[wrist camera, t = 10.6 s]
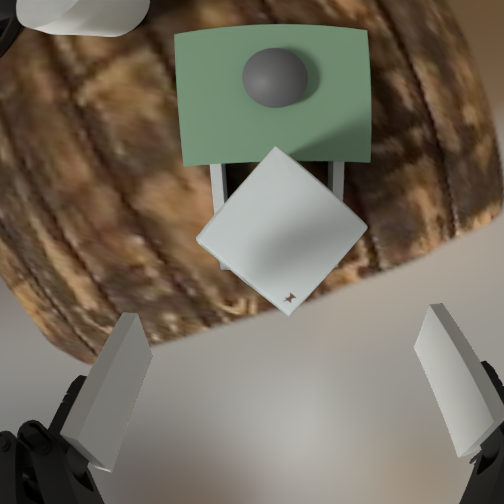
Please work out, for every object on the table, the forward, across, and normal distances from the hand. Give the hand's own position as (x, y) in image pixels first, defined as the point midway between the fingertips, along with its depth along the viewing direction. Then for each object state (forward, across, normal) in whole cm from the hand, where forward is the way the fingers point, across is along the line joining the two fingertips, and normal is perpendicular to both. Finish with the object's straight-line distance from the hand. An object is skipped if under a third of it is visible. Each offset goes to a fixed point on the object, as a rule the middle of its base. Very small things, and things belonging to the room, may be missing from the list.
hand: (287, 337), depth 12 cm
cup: (+20, -15, +23) cm, 33 cm away
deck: (+19, 0, +5) cm, 20 cm away
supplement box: (+18, 0, -1) cm, 18 cm away
